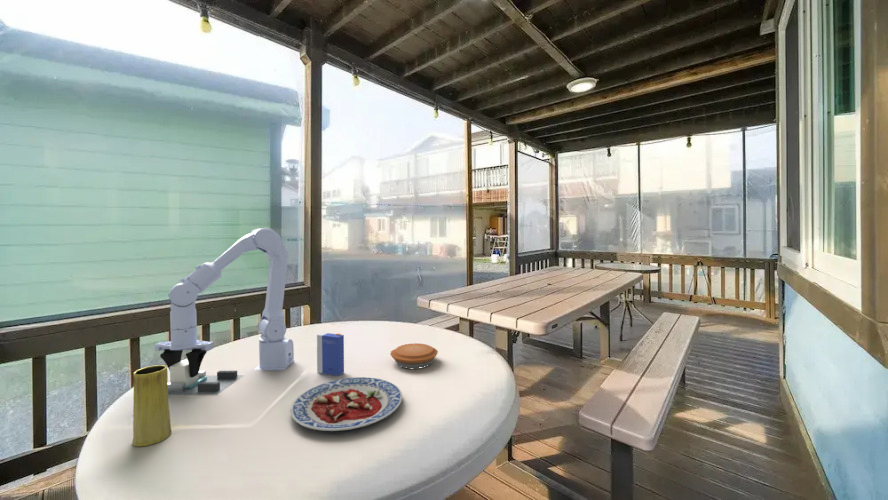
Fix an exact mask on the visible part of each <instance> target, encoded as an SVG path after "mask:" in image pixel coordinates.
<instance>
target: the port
mask: <svg viewBox="0 0 888 500" xmlns="http://www.w3.org/2000/svg"><path fill="white" fill-rule="evenodd" d="M206 373H207V371H206V370H199V380H198V381H196V382H194V383H192V384H191V385H189V386H187V390H190V389H192V388H194V387H195V386H197V385H198V384H199V383H201V382H203V381H205V380H207V377H206V376H207V374H206ZM185 390H186V382H182V383H170V382H168V392H183V391H185Z"/></svg>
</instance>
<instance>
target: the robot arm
mask: <svg viewBox="0 0 888 500" xmlns="http://www.w3.org/2000/svg"><path fill="white" fill-rule="evenodd" d="M256 250H260V251H261V252H263V253H264V254H265V255H266V256H267V257H268V258H269V269H268V278H267V287H266V295H265V303H264V304H265V305H264V309H263V311H262V313H261V318H260V320H259V321H258V323H257V331H258V332H259V333H260V334H261V335H260V337H259V339H258V347H259V348H258V349H259V350H258V352H259V353H258V354H259V359H258V360H259V365H258V366H256V367H255V368H254V369H253V371H284V370H286V369H287V368H288V367H290V365H292V364H293V363H294V362H295V360H294V357H295V356H294V355H295V353H294V351H295V350H294V341H293V339H290V338H286V337H285V335H286V332H287V326H286V324H285V313H284V311H283V310H284V309H283V307H284V300H285V289H286V288H285V287H286V281H287V271H288V262H289V252H288V249H286V246H285V244H284V242H283V241H282V237H281V235H280V234H278V232H276V231H275V230H274V229H272V228H269V227H263V228H260V227H259V228H255V229H252V230H251V232H250V233H248V234H245V235H244V236H242V237H241V238H239V239H238V240H237V241H236V242H235V243H234V244H232V245H231V246H230V247H228V249H226V250H225V251H224V252H223V253H221V254H220V255H219V256H218V257H217V258H216V259H215V260H213V261H212V262H204V263H202V264H200V263H199V264H197V265H196V266H195V269H194V270H193V271H192V272H191V273H190V274H188V275H187V276H186V277H181V278H180V280H179V281H180V283H177V284H175V285H173V286H172V287H171V288H170V290H169V293H168V297H169V300H170V306H169V307H170V311H169V318H170V319H169V321H170V323H169V324H170V327H169V328H170V341H159V342H157V343H155V344H154V352H160V351H163V352H162V353H160V355H159V357H160V358H161V360H163V362H164V363H165V365H166V366H167V369H168V371H169V372H170V366H172V365H174V364H176V363H178V362H180V361H182V355H183V351H189V352H187V353H185V356H186V360H188V362H189V368H190V377H195V376H196V375H198V373H199V371H200V368H201V365H202V362H203V359H204V357H205V356H206V354H207V352H209V351H211V350H213V349H214V341H207V340H206V341H205V340H200V339H198V327H197V324H198V323H197V321H198V320H197V308H196V301H197V299H198V296H199V294H200V293H201V294H202V293H204V292H205V291H206V290H207V289H208V288H210V287H211V286H212V285H213V284H214V283H216V282H217V281H218V280H219V279H220V278H222V271H223V270H224V269H225V268H227V266H229V265H231V264H232V263H233V262H234V261H235V260H237V259H238V258H239V257H241V256H242V255H243V254H244V253H247V252H252V251H256Z"/></svg>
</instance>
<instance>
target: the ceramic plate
mask: <svg viewBox="0 0 888 500" xmlns="http://www.w3.org/2000/svg"><path fill="white" fill-rule="evenodd" d="M402 399H403V393H402V391H401V389H400V388H399V387H398V386H397V385H396V384H394V383H392V382H391V381H387V380H384V379H382V378H377V377H376V378H375V377H365V376H364V377H360V376H359V377H358V376H357V377H356V376H355V377H348V378H347V377H346V378H340V379H335V380H331V381H328V382H324V383H321V384H319V385H315V386H314V387H312V388H310V389H308V390H306V391H305V392H303V393H302V394H300V395H298V397H297V398H296V399H295V400H294V401H293V403H292V404H291V407H290V415H291V418H292V419H293V421H294V422H295V423H297V424H298V425H300V426H302V427H304V428H306V429H310V430H317V431H326V432H327V431H329V432H334V431H335V432H336V431H348V430H354V429H358V428H364V427H366V426H369V425H372V424H374V423H377V422H379V421H381V420H383V419H385V418H388V417H389V416H390V415H392V414H393V413H394V412H396V410H397V409H398V408H399V407H400V405H401V403H402Z"/></svg>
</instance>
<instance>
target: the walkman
mask: <svg viewBox="0 0 888 500" xmlns="http://www.w3.org/2000/svg"><path fill="white" fill-rule="evenodd" d="M344 338H345V337H344V334H341V333H340V332H339V333H330V332H320V333H318V334H316V373H319V374H324V375H330V376H331V375H332V376H338V377H340V375H342V374H344V373H345V346H344V345H345V341H344V340H345V339H344Z"/></svg>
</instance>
